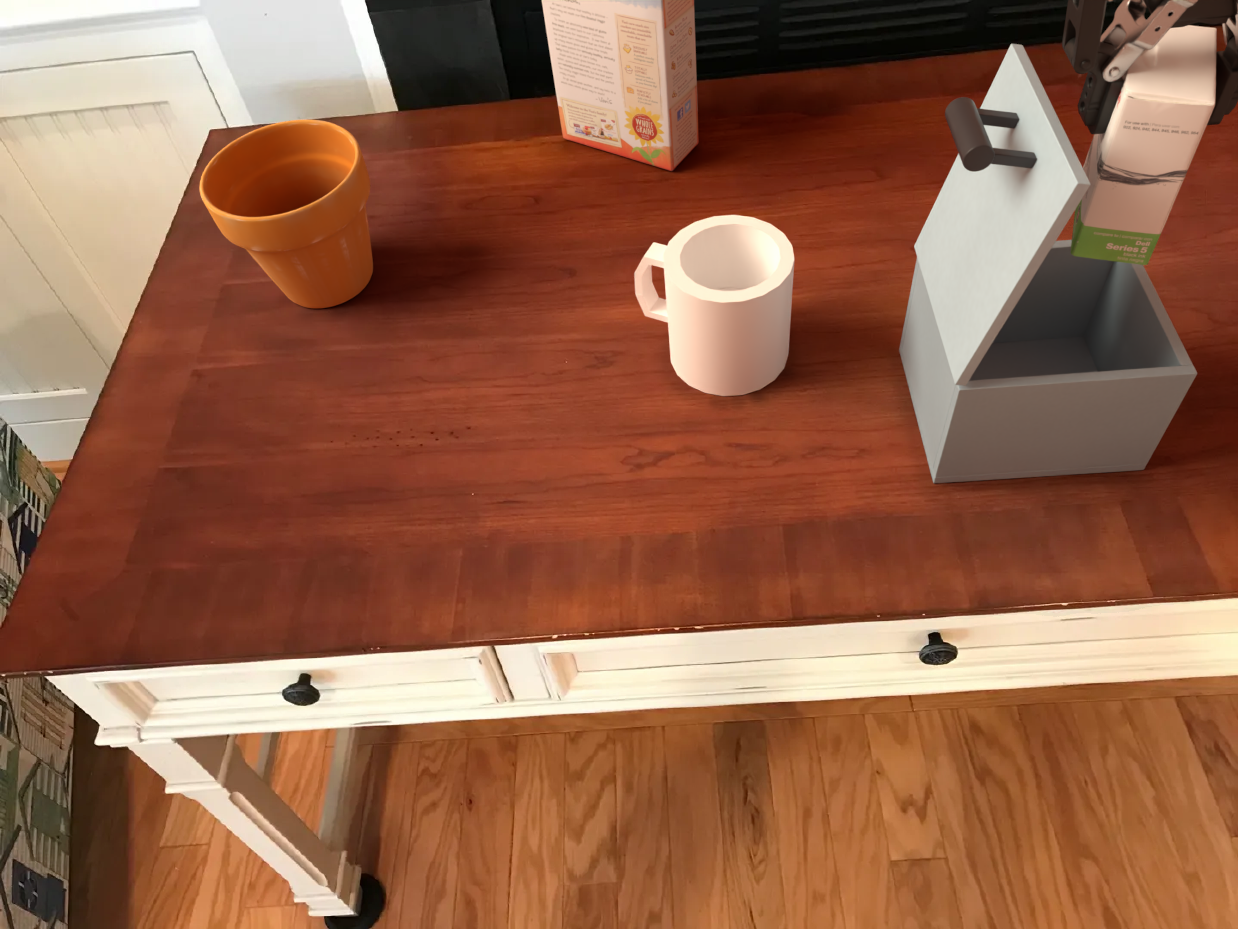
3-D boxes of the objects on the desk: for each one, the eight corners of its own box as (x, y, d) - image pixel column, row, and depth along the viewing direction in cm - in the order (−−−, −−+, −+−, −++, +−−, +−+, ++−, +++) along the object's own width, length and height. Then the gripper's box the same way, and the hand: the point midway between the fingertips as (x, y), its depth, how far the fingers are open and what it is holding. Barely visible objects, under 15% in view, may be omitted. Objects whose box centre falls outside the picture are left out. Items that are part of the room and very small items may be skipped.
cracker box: (701, 143, 103) (695, -62, 87) (672, 175, 101) (660, -30, 84) (592, 110, 109) (566, -88, 92) (561, 139, 106) (529, -59, 89)
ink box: (1148, 269, 63) (1221, 104, 53) (1066, 256, 64) (1123, 94, 55) (1153, 186, 67) (1221, 22, 58) (1076, 177, 69) (1130, 14, 59)
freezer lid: (1022, 44, 62) (944, 34, 61) (1091, 184, 53) (1000, 174, 52) (923, 247, 74) (857, 240, 74) (965, 386, 66) (891, 379, 65)
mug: (615, 365, 85) (602, 272, 77) (665, 289, 90) (658, 194, 82) (761, 410, 81) (764, 316, 72) (805, 328, 86) (813, 231, 77)
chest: (1087, 336, 82) (1128, 234, 74) (1143, 470, 74) (1197, 373, 65) (898, 349, 83) (917, 251, 75) (933, 483, 75) (959, 389, 66)
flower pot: (235, 329, 93) (173, 219, 82) (282, 230, 101) (230, 119, 91) (379, 331, 91) (334, 218, 80) (414, 230, 99) (377, 116, 89)
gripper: (1138, -141, 45) (1045, 169, 58) (1472, -174, 44) (1299, 149, 57) (1089, -204, 49) (1013, 97, 63) (1390, -236, 48) (1247, 77, 62)
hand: (1150, 121), depth 60 cm, fingers closed on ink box, 6 cm apart
